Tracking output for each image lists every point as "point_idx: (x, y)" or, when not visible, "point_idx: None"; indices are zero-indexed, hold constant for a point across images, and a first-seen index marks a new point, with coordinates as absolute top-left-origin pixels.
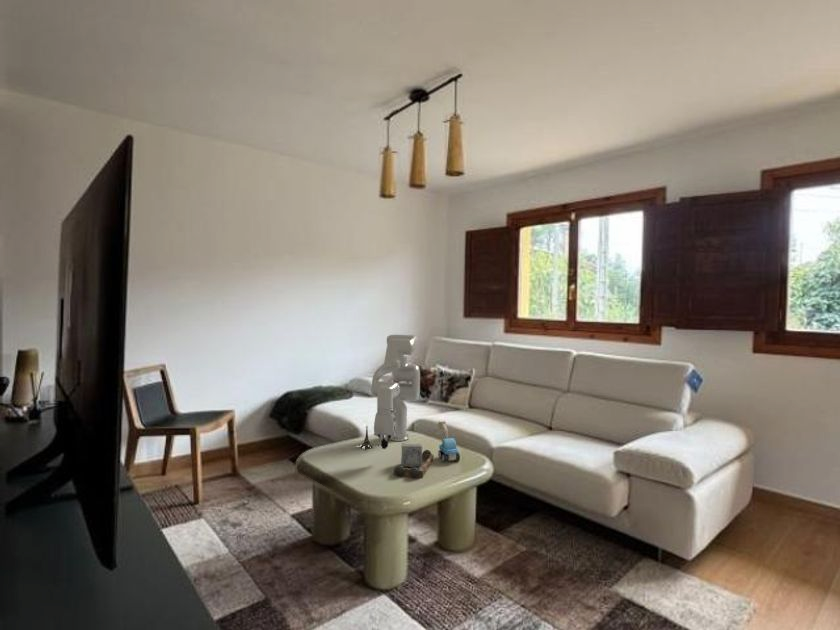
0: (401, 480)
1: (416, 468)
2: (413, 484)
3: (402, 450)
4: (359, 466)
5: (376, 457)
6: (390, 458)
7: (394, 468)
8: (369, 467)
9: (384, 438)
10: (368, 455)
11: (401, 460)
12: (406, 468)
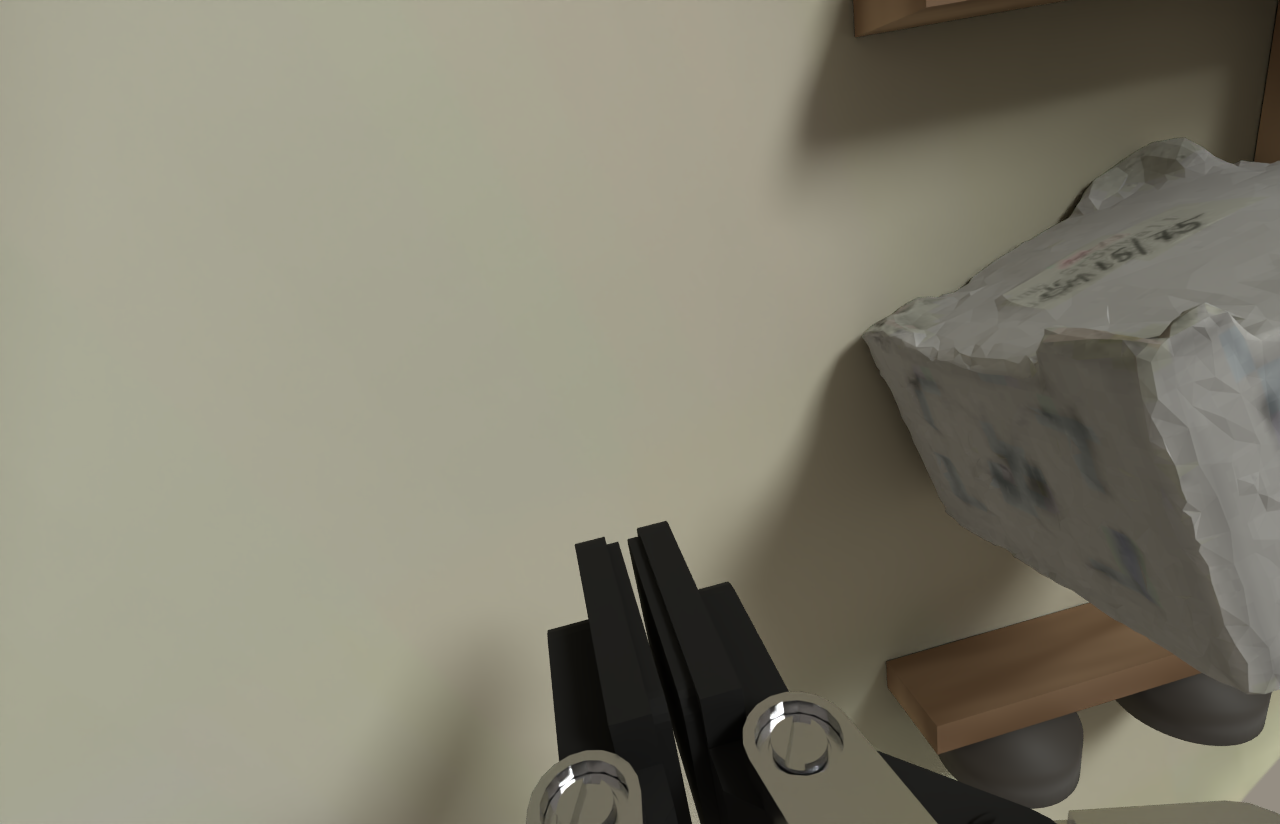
0: None
1: (1266, 709)
2: (1144, 761)
3: (1160, 636)
4: (331, 745)
5: (289, 282)
6: (574, 192)
7: (939, 744)
8: (488, 695)
9: (675, 815)
10: (44, 261)
11: (946, 458)
12: (1100, 687)
